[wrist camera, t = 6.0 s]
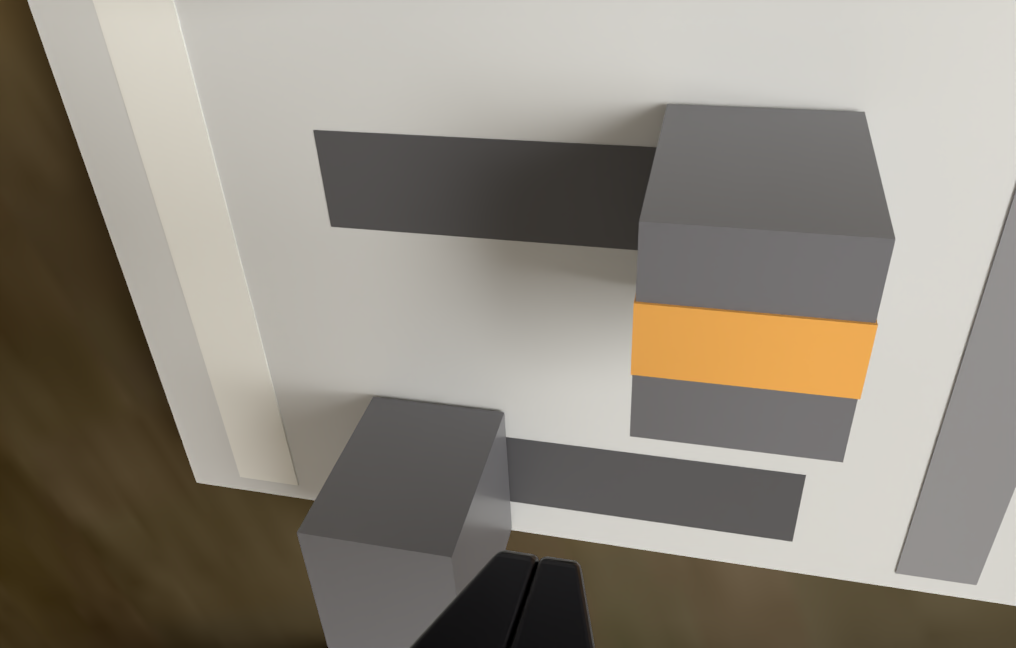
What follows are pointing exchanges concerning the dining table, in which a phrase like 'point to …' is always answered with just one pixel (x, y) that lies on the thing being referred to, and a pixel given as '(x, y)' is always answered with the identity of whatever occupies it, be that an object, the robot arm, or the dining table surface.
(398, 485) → the block
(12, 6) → the dining table surface
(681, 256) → the block
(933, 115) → the panel
